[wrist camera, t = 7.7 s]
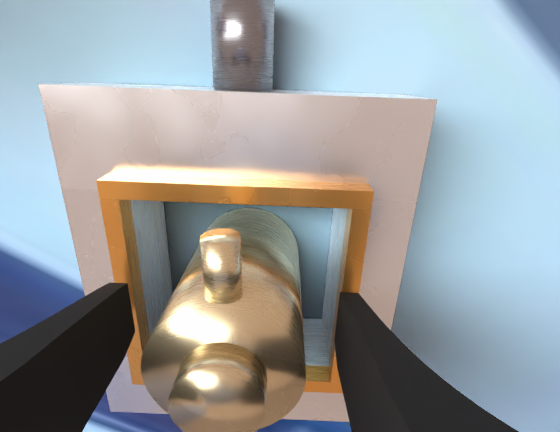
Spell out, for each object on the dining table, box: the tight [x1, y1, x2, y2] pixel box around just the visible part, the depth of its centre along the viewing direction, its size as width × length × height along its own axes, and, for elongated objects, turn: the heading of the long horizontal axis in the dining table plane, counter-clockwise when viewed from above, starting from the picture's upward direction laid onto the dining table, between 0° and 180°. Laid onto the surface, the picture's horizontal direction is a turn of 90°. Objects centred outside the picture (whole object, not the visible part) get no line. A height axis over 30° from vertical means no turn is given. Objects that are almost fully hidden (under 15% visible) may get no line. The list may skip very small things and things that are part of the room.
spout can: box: [141, 208, 306, 432], centre depth 12 cm, size 6×4×8 cm
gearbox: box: [39, 0, 437, 422], centre depth 13 cm, size 17×12×4 cm
